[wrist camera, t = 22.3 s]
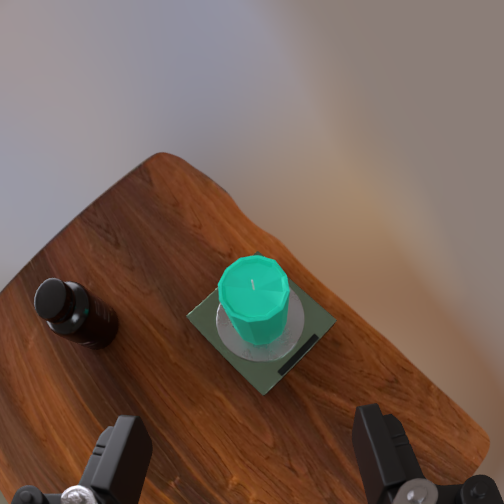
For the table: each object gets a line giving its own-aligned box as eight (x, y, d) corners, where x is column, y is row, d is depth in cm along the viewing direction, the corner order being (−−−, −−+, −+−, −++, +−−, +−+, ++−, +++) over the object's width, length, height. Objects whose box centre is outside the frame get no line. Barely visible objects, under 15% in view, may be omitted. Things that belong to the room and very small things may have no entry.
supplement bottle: (90, 359, 38) (35, 339, 27) (73, 319, 41) (21, 289, 30) (128, 334, 40) (80, 306, 29) (108, 294, 42) (62, 257, 32)
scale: (333, 325, 38) (338, 318, 35) (264, 396, 35) (263, 395, 32) (258, 258, 43) (257, 247, 40) (190, 321, 40) (184, 314, 37)
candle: (245, 353, 35) (229, 329, 24) (225, 306, 37) (204, 262, 26) (295, 332, 35) (303, 298, 24) (273, 286, 38) (271, 235, 27)
